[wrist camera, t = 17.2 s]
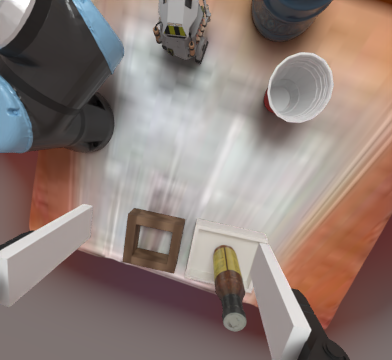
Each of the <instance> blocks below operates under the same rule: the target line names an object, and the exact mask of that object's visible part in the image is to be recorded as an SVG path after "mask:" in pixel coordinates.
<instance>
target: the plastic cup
mask: <svg viewBox="0 0 392 360" xmlns="http://www.w3.org/2000/svg"><path fill="white" fill-rule="evenodd" d="M333 86H334V84H333V76H332V71H331V69H330V67H329V66H328V64H327V62H326V61H325V60H324V59H322V58H321V57H319V56H318V55H316V54H314V53H305V52H300V53H297V54H294V55H291V56H288V57H287V58H286V59H285V60H283V61H282V62H281V63H280V64H279V65H278V66H277V67H276V69H275V70H274V72H273V74H272V76H271V78H270V79H269V85H268V88H267V90H266V93H265V96H264V104H265V107H266V108H267V110H268V111H270V112H272V113H274V114H276V115H277V116H278V117H280V118H282V119H283V120H285V121H287V122H295V123H301V122H304V121H307V120H310V119H313V118H314V117H315V116H316V115H318V114H319V113H320V112H321V111H323V109H324V108H325V106H326V105H327V103H328V102H329V100H330V98H331V94H332V90H333Z"/></svg>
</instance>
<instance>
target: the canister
mask: <svg viewBox="0 0 392 360" xmlns="http://www.w3.org/2000/svg"><path fill="white" fill-rule="evenodd" d="M332 1H333V0H252V17H253V21H254V24H255V27H256V28H257V30H258V31H259V33H260V34H261V35H262V36H264V37H265V38H267V39H269V40H271V41H275V42H284V41H288V40H291V39H293V38H295V37H297V36H299V35H300V34H302V33H303V32H304V31H305V30H307V29H308V27H309V26H310V25H311V24H312V23H313V22H314V20H315V19H316V17H317V16H318V15H319V14H320V13H321V12H322V11H324V10H325V9H326V8H327V7H328V6H329V4H330V3H331V2H332Z"/></svg>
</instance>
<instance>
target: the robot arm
mask: <svg viewBox="0 0 392 360" xmlns="http://www.w3.org/2000/svg"><path fill="white" fill-rule="evenodd" d="M123 56H124V47H123V44H122V42H121V41H120V39H119V38H118V36H117V35H116V33H115V32H114V31H113V29H112V28H111V27H110V25H109V24H108V23H107V21H106V20H105V19H104V17H103V16H102V15H101V13H100V12H99V11H98V9H97V8H96V7H95V6H94V4H93V3H92V2H91V1H90V0H0V153H7V152H8V153H9V152H16V153H24V152H27V151H36V150H44V149H52V148H61V147H64V148H67V149H70V150H73V151H76V152H92V151H96V150H99V149H101V148H102V147H104V146H105V145H106V144H107V143H108V142H109V140H110V138H111V136H112V134H113V130H114V117H113V113H112V110H111V108H110V106H109V104H108V103H107V101H106V100H105V99H104V98H103V97H102V96H101V95H100V94H99V93H97V92H96V91H97V90H98V89H99V88H100V87H101V85H102V84H103V83H104V82H105V80H106V79H107V78H108V77H109V75H110V74H113V73H114V69H115V68H116V67H117V65H118V64H119V62H120V61H121V60H122V58H123ZM92 211H93V206H90V205H86V204H83V205H81V206H79V207H77V208H75V209H74V210H72V211H70V212H68V213H66V214H65V215H63V216H61V217H59V218H57V219H56V220H54V221H52V222H50V223H48V224H47V225H45V226H43V227H41V228H40V229H38V230H36V231H33V230H32V231H29V232H26V233H23V234H21V235H19V236H17V237H15V238H13V240H9V241H7V242H6V243H5V244H2V245H0V305H4V306H8V307H10V306H11V305H12V304H14V303H15V302H16V301H17V300H18V299H19V298H21V297H22V296H23V295H24V294H25V293H26V292H27V291H29V290H30V289H31V288H32V287H33V286H35V285H36V284H37V283H38V282H39V281H40V280H41V279H43V278H44V277H45V276H46V275H47V274H48V273H49V272H51V271H52V270H53V269H54V268H55V267H57V266H58V265H59V264H60V263H61V262H62V261H63V260H65V259H66V258H67V257H68V256H69V255H70V254H72V253H73V252H74V251H75V250H76V249H77V248H79V247H80V246H81V245H82V244H83V243H84V242H86V241H87V240H88V239H89V238H90V237H91V225H92ZM250 276H251V280H252V283H253V287H254V291H255V295H256V299H257V303H258V307H259V310H260V314H261V318H262V322H263V326H264V329H265V333H266V337H267V341H268V345H269V348H270V353H271V356H272V360H350V359H349V357H348V355H347V354H346V353H345V352H344V350H343V349H342V348H341V347H340V346H338V345H337V344H336V343H335V342H333V341H331V340H330V339H328V337H327V335H326V333H325V332H324V330H323V328H322V326H321V324H320V322H319V321H318V319H317V317H316V315H315V314H314V312H313V310H312V308H311V307H310V305H309V303H308V301H307V299H306V298H305V296H304V295H303V294H302V293H301V292H300V291H299V290H296V289H292V288H290V286H289V284H288V282H287V280H286V278H285V276H284V274H283V272H282V270H281V268H280V266H279V264H278V262H277V259H276V257H275V255H274V253H273V251H272V249H271V247H270V245H267V244H263V243H259V245H258V248H257V252H256V255H255V258H254V261H253V264H252V268H251V271H250Z"/></svg>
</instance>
